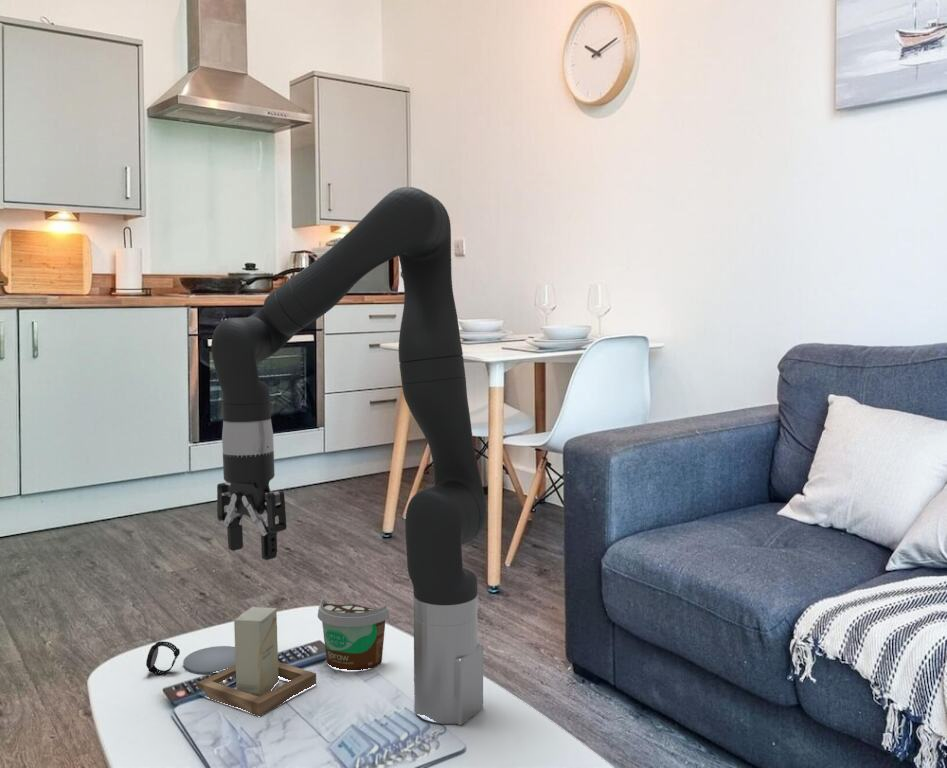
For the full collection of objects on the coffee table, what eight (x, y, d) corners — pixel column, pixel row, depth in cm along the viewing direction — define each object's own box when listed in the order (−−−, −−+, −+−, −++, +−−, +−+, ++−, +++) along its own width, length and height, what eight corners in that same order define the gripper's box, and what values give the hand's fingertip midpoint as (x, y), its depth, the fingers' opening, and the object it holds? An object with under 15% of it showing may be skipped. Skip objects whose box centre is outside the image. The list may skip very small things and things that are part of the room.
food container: (304, 669, 139) (303, 609, 138) (322, 655, 145) (321, 597, 144) (374, 679, 135) (374, 617, 134) (390, 664, 141) (389, 604, 140)
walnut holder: (316, 685, 133) (316, 673, 133) (259, 716, 123) (258, 703, 123) (256, 667, 140) (256, 655, 140) (197, 695, 130) (197, 682, 130)
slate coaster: (259, 657, 144) (259, 654, 144) (212, 679, 135) (212, 675, 135) (217, 645, 149) (217, 641, 149) (170, 665, 141) (170, 661, 141)
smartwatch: (157, 666, 140) (156, 637, 140) (183, 671, 139) (182, 641, 138) (140, 677, 136) (138, 646, 136) (167, 681, 135) (166, 650, 134)
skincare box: (262, 701, 128) (260, 621, 127) (234, 698, 129) (232, 619, 128) (279, 682, 134) (278, 607, 133) (253, 680, 135) (251, 605, 134)
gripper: (297, 450, 129) (301, 556, 130) (241, 442, 138) (245, 541, 139) (256, 457, 123) (260, 568, 124) (200, 448, 132) (204, 551, 133)
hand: (252, 553), depth 132 cm, fingers open, 8 cm apart
